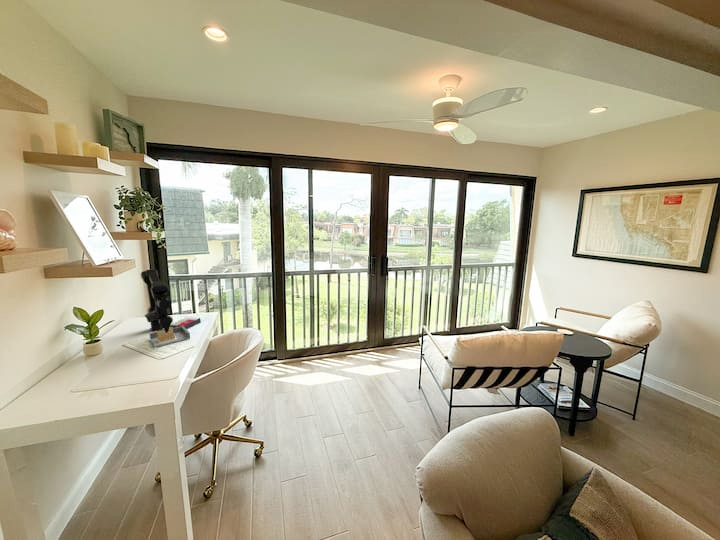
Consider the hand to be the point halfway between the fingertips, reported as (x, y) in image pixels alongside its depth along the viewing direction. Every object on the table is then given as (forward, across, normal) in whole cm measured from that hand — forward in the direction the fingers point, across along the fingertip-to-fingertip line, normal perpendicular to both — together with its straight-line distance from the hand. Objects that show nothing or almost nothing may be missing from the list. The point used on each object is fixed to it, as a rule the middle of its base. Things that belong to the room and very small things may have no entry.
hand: (165, 330), depth 174 cm
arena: (+6, 0, +2) cm, 7 cm away
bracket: (+5, +2, 0) cm, 5 cm away
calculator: (+7, -19, +15) cm, 25 cm away
